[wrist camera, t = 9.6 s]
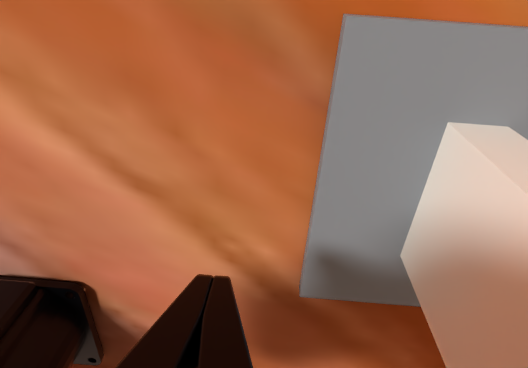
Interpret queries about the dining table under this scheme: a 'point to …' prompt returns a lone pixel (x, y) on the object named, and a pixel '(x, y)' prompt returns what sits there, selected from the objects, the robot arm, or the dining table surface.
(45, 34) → the dining table surface
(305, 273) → the mat
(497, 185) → the tile
